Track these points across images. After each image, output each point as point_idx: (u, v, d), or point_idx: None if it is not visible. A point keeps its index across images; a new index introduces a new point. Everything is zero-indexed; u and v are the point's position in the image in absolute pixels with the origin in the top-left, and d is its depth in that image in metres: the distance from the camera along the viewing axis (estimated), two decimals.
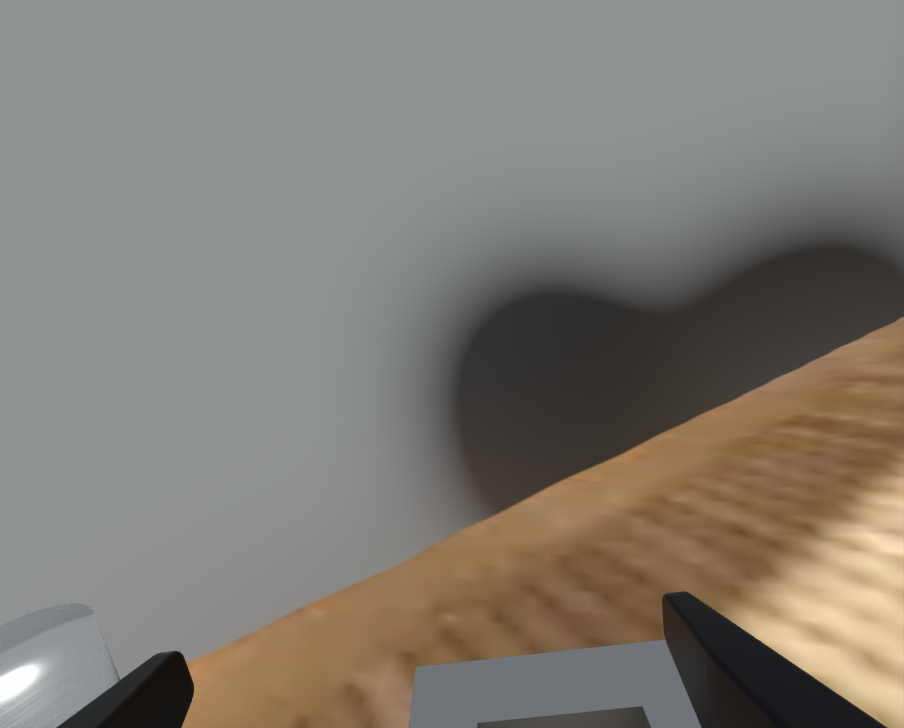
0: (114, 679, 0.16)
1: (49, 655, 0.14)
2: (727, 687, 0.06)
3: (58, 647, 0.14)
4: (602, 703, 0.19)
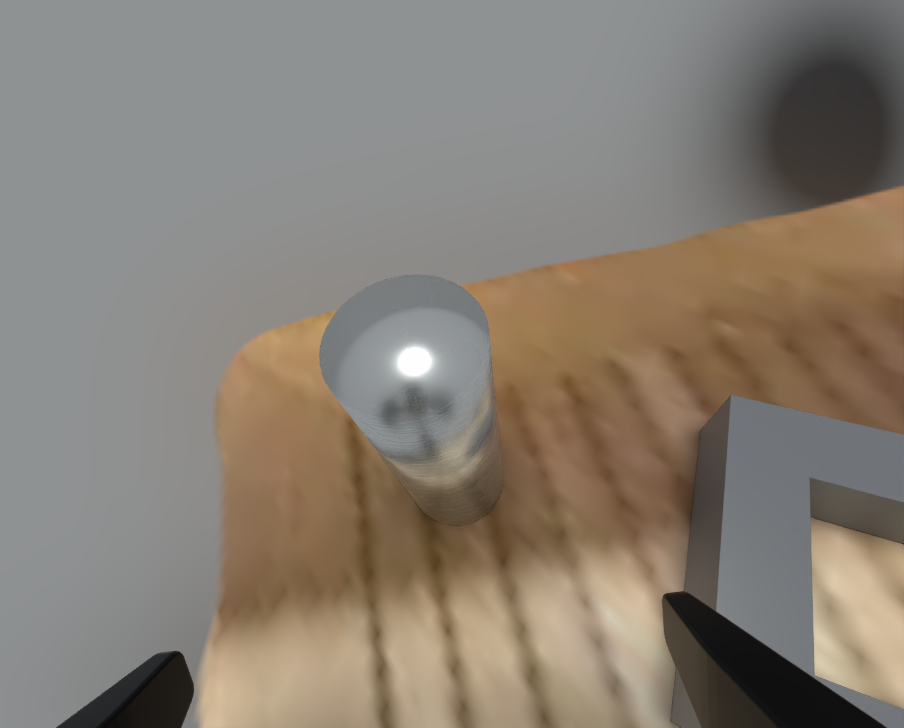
0: None
1: (459, 351, 0.12)
2: (727, 687, 0.06)
3: (464, 342, 0.12)
4: None
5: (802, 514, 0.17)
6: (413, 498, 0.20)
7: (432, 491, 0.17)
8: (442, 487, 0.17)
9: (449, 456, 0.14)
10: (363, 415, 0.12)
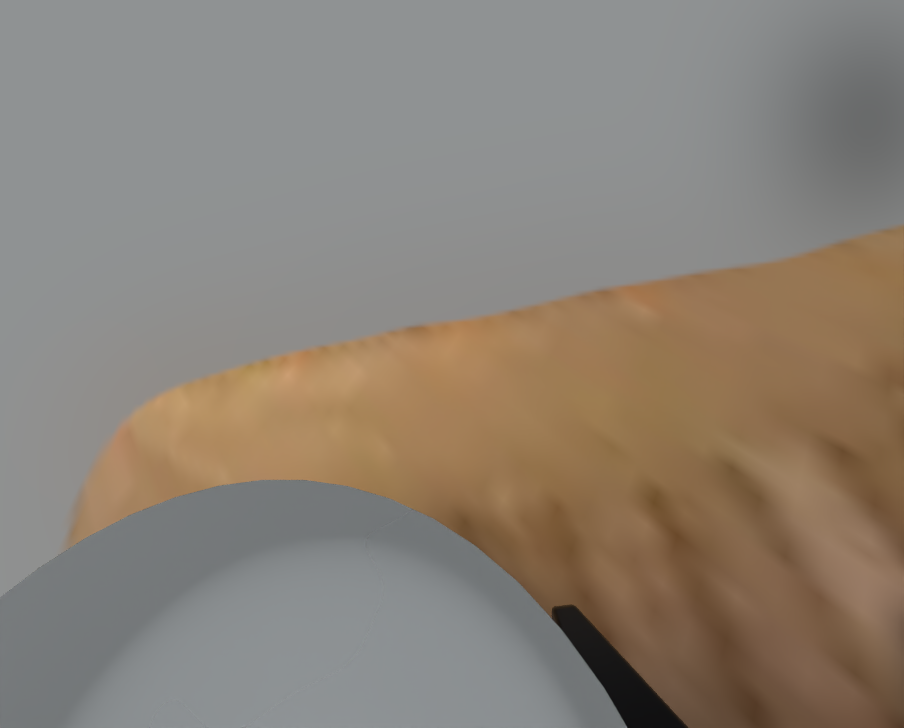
0: None
1: None
2: None
3: None
4: None
5: None
6: None
7: None
8: None
9: None
10: None
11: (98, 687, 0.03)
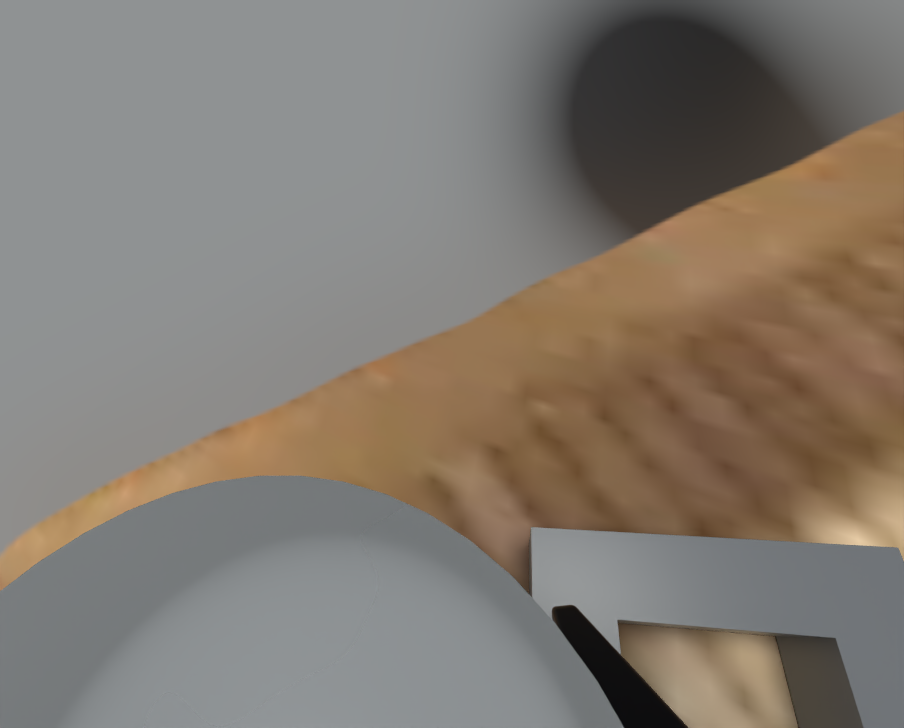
0: None
1: None
2: None
3: None
4: (781, 624, 0.15)
5: None
6: None
7: None
8: None
9: None
10: None
11: (95, 681, 0.03)
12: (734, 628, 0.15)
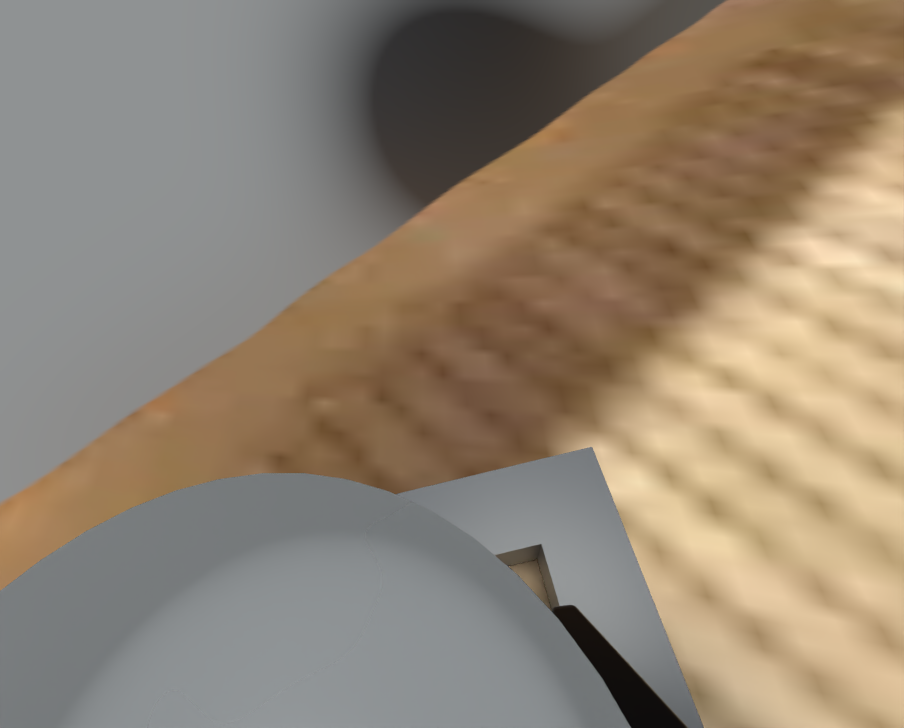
0: None
1: None
2: None
3: None
4: (496, 545, 0.16)
5: None
6: None
7: None
8: None
9: None
10: None
11: (99, 678, 0.03)
12: None
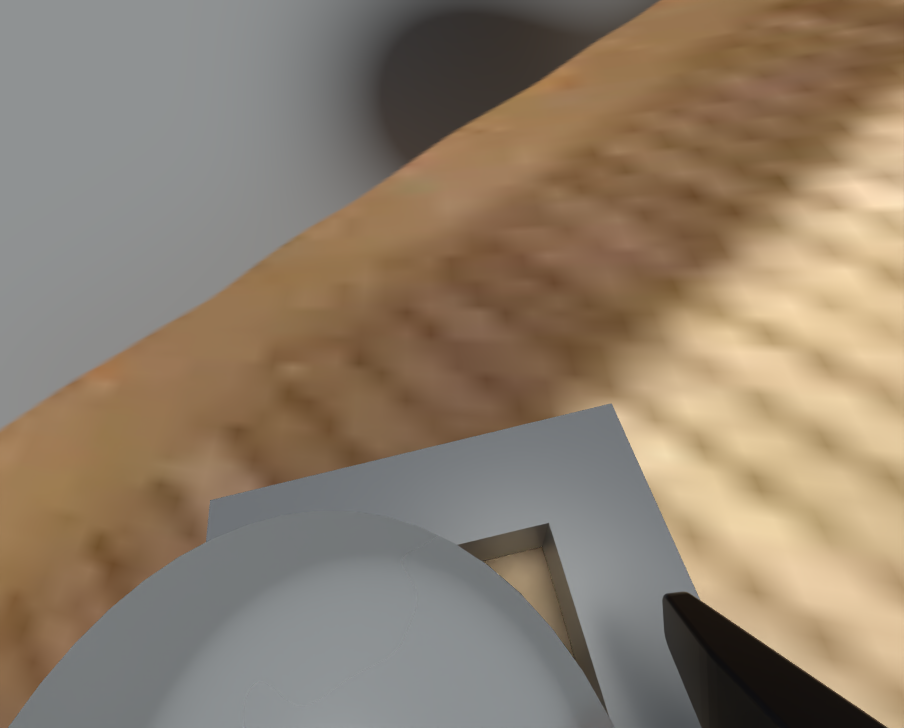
0: None
1: None
2: (727, 687, 0.06)
3: None
4: (490, 526, 0.12)
5: None
6: None
7: None
8: None
9: None
10: None
11: (202, 672, 0.03)
12: None
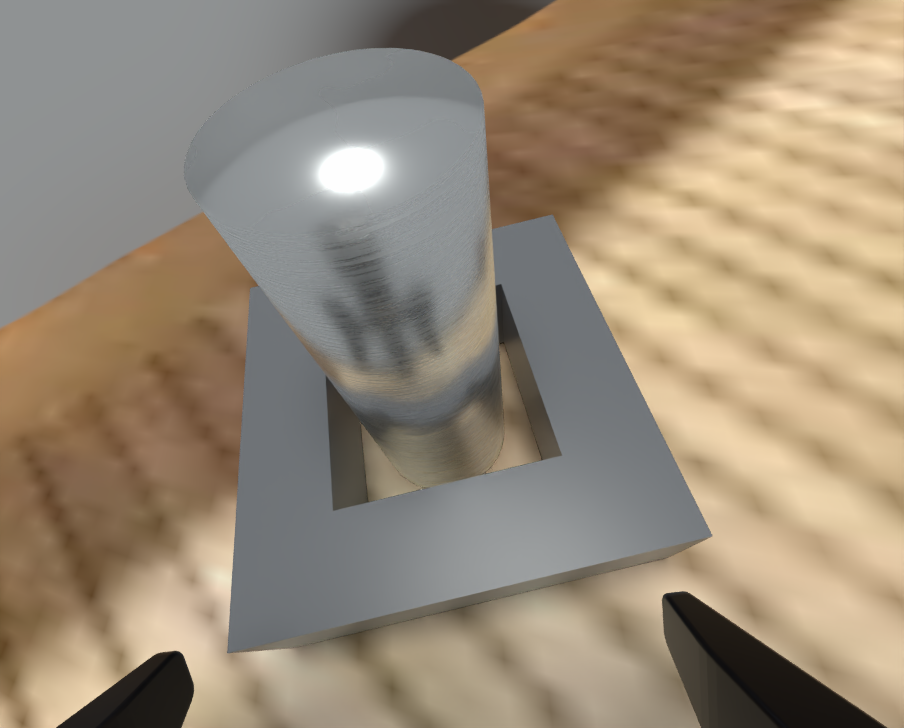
0: None
1: (429, 132, 0.07)
2: (727, 687, 0.06)
3: (439, 121, 0.07)
4: None
5: (317, 364, 0.16)
6: (382, 449, 0.15)
7: (402, 427, 0.12)
8: (414, 419, 0.11)
9: (421, 352, 0.09)
10: (248, 237, 0.06)
11: (299, 89, 0.08)
12: None
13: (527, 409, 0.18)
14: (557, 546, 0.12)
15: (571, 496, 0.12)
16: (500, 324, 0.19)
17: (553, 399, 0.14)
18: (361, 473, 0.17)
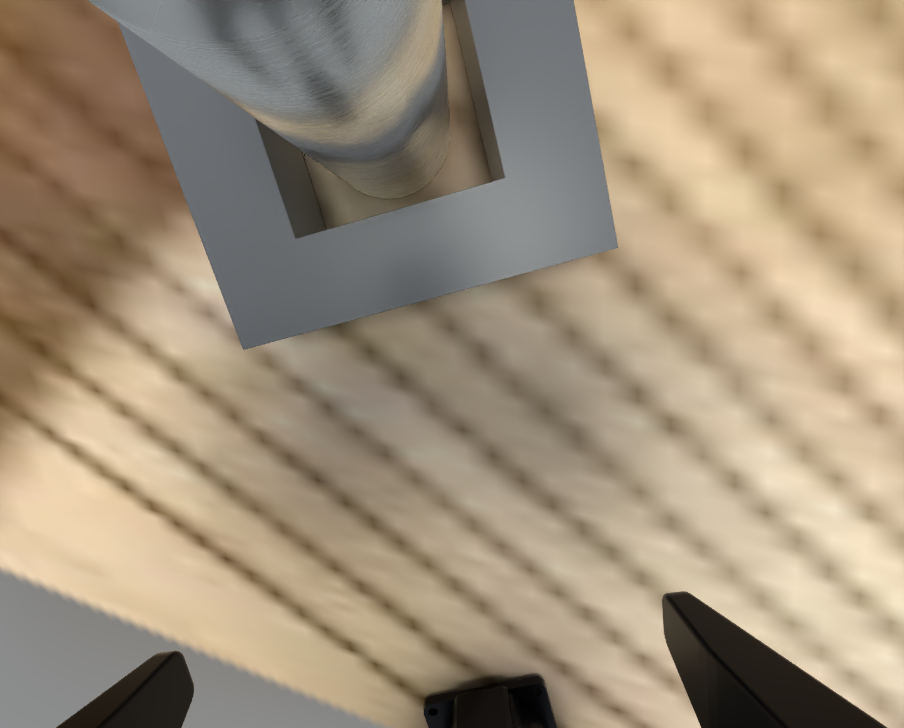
0: None
1: None
2: (727, 687, 0.06)
3: None
4: None
5: None
6: None
7: (349, 166, 0.12)
8: (362, 160, 0.11)
9: (364, 115, 0.08)
10: (147, 33, 0.05)
11: None
12: None
13: (475, 105, 0.16)
14: (494, 261, 0.14)
15: (509, 218, 0.14)
16: None
17: (501, 112, 0.13)
18: (308, 185, 0.17)
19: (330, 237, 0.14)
